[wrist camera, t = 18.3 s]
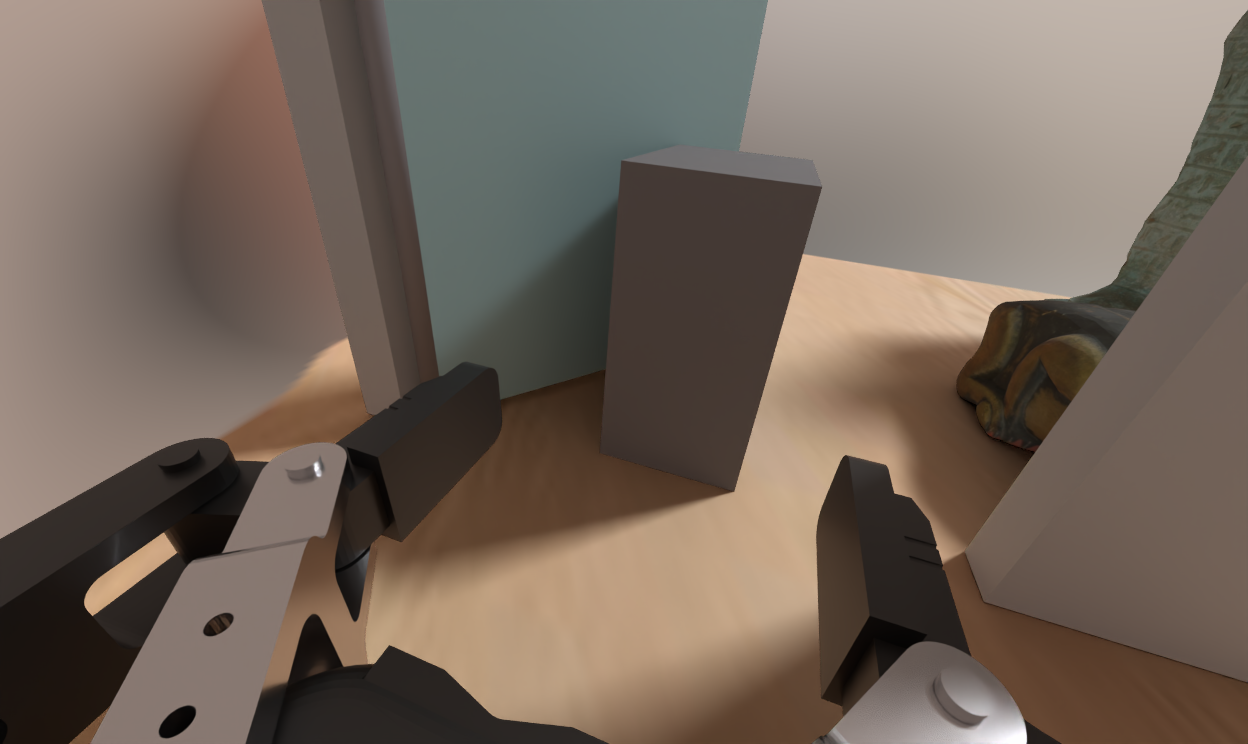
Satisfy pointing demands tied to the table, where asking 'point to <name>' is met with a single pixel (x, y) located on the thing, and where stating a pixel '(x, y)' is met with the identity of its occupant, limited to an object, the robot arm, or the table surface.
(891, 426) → the table surface
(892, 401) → the table surface
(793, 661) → the table surface
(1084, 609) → the wall frame
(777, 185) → the doorstop block
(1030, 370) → the sculpture
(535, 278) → the door
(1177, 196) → the figurine
